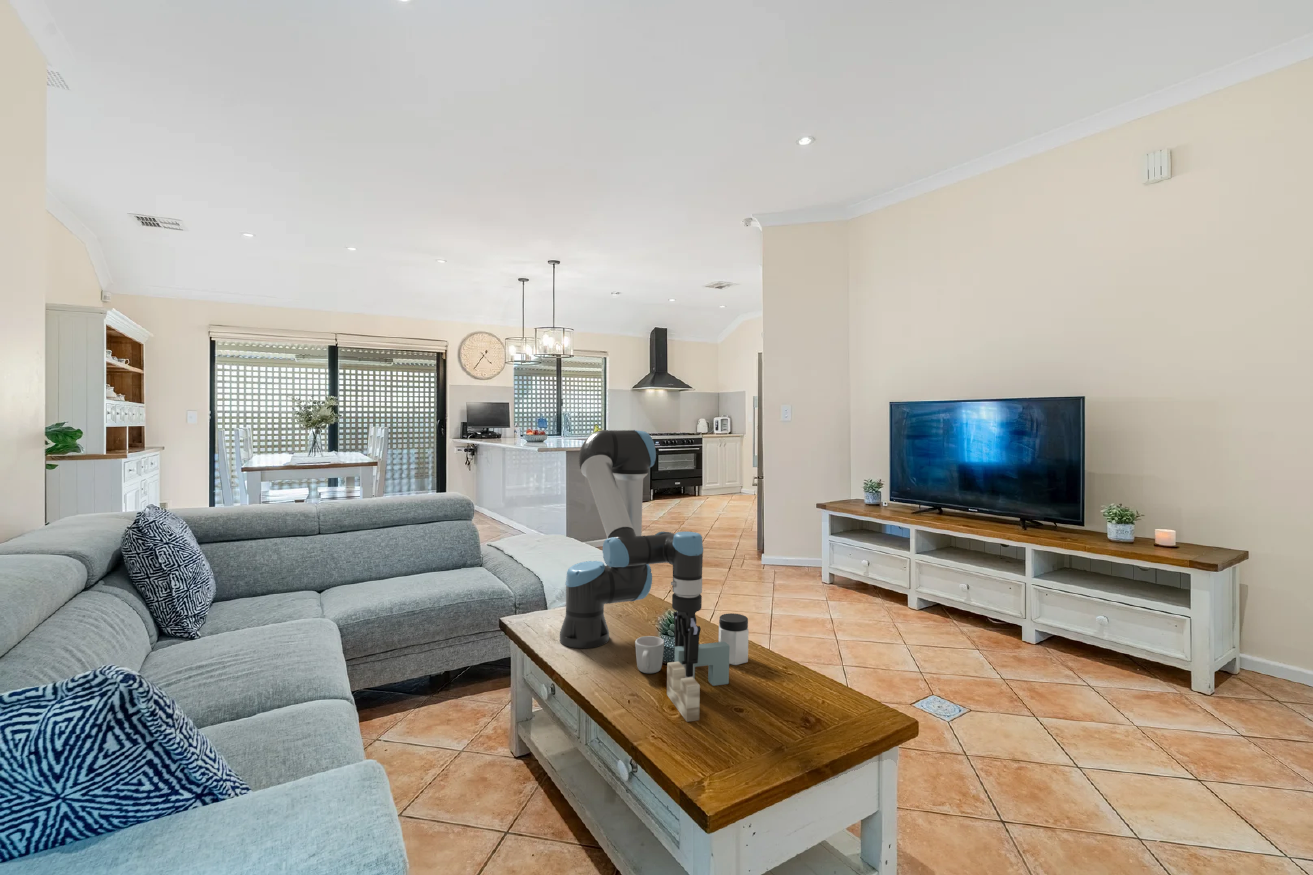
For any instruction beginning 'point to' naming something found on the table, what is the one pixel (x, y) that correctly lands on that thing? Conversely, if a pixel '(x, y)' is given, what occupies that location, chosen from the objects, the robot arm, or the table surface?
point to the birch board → (683, 691)
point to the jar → (735, 636)
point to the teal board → (710, 661)
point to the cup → (649, 653)
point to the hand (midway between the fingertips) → (685, 684)
